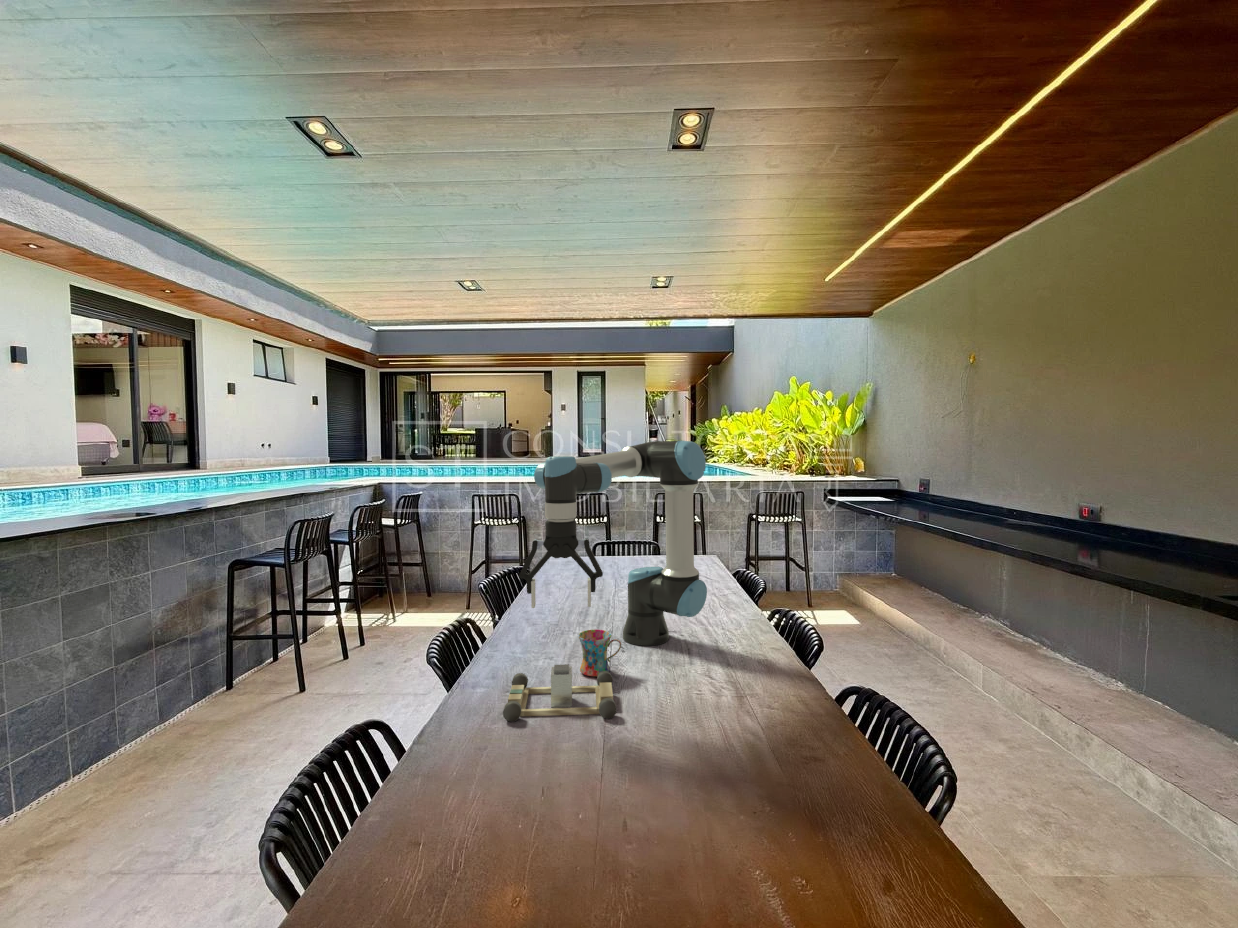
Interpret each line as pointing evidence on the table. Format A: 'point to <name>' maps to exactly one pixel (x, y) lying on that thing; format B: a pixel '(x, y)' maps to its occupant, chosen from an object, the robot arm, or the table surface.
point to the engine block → (561, 686)
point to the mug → (595, 651)
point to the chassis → (520, 697)
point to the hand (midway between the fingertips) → (561, 606)
